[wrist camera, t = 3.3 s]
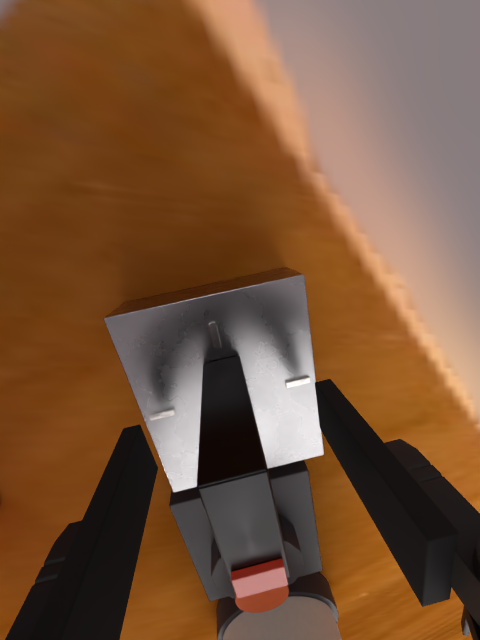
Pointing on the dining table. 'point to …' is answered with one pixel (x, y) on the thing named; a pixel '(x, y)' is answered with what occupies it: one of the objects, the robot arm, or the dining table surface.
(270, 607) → the red push button
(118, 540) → the robot arm
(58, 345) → the dining table surface
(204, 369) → the black switch lever
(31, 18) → the dining table surface
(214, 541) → the push button box
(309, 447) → the lever switch base
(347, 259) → the dining table surface
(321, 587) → the kettle
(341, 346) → the dining table surface
